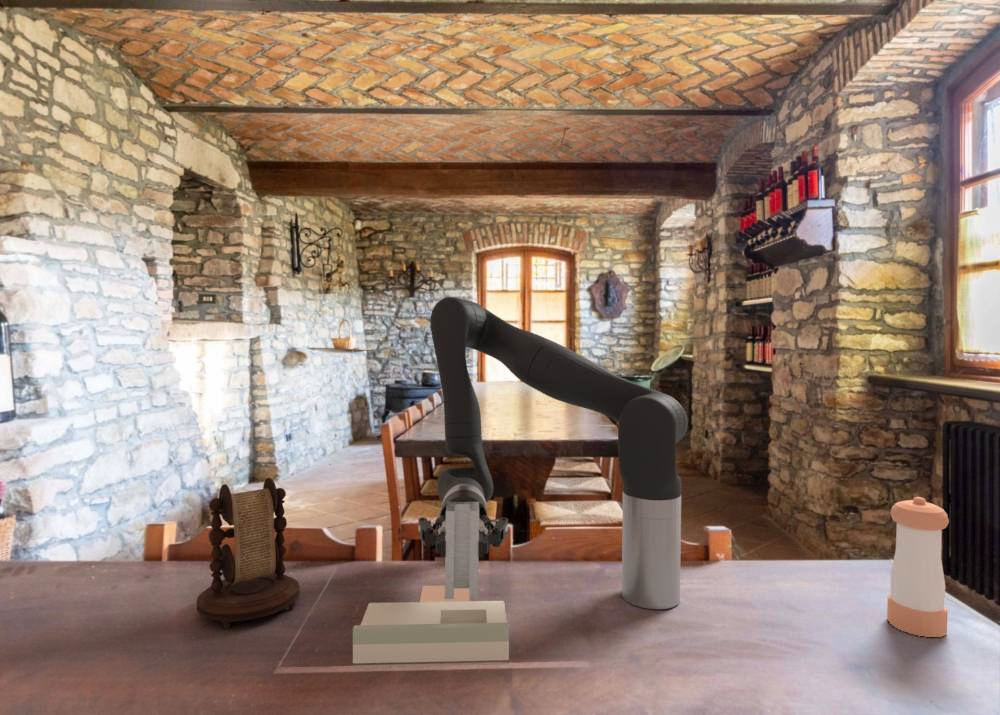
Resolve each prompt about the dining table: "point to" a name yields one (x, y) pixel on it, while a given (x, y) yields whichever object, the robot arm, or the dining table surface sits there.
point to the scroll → (248, 557)
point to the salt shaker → (918, 569)
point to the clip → (462, 548)
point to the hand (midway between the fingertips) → (462, 549)
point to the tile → (443, 594)
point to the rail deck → (432, 633)
